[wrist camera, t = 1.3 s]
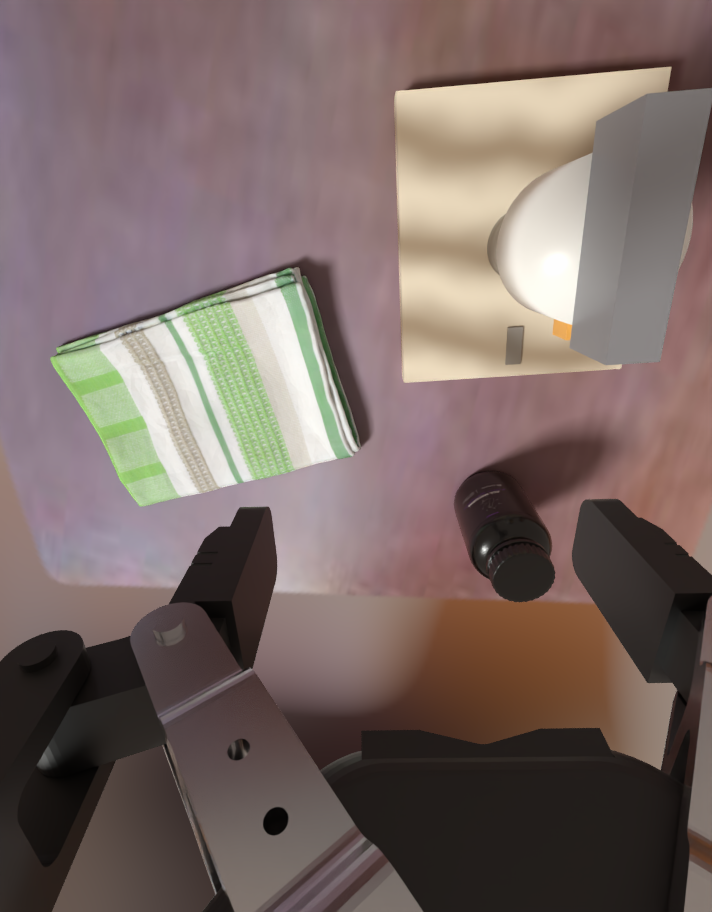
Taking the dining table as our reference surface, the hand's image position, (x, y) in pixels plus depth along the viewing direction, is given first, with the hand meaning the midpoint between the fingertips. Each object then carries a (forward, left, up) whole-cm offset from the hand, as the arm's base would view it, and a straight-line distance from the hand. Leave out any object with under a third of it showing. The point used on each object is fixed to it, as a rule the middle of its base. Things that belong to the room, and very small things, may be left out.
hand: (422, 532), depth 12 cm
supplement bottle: (+17, +10, -30) cm, 36 cm away
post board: (-6, +11, -30) cm, 32 cm away
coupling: (-6, +11, -20) cm, 23 cm away
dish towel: (+5, -15, -31) cm, 35 cm away
